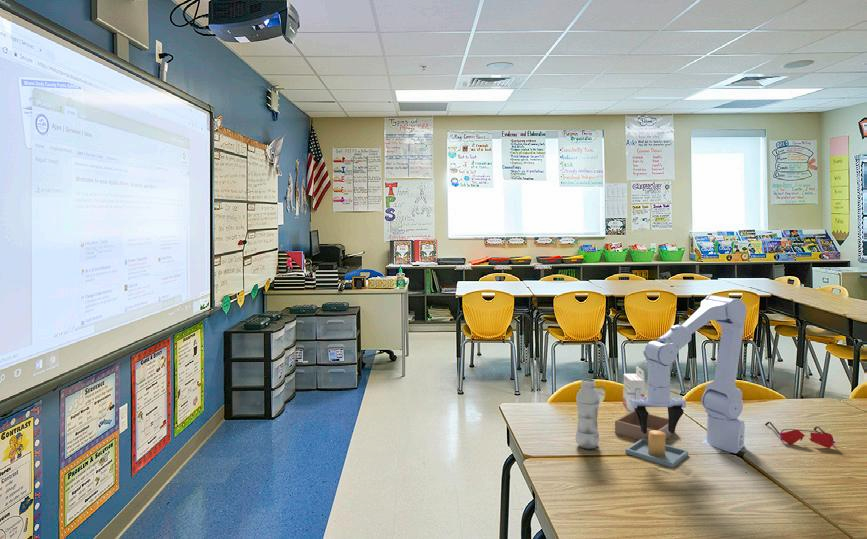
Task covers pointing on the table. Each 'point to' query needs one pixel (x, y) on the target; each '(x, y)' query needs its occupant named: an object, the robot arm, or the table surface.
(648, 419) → the brown storage bin
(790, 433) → the glasses
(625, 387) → the ink cartridge box
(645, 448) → the tray
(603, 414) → the table surface
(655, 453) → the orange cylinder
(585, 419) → the plastic bottle
